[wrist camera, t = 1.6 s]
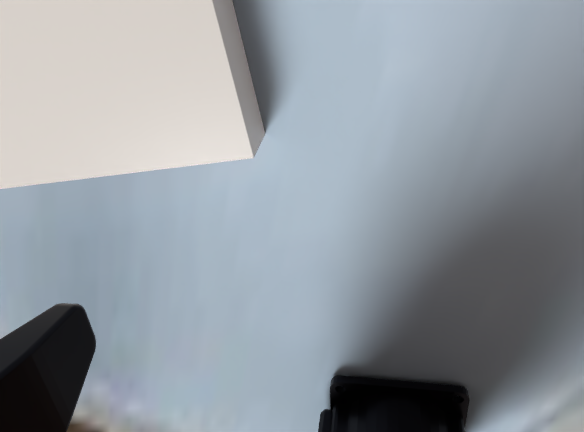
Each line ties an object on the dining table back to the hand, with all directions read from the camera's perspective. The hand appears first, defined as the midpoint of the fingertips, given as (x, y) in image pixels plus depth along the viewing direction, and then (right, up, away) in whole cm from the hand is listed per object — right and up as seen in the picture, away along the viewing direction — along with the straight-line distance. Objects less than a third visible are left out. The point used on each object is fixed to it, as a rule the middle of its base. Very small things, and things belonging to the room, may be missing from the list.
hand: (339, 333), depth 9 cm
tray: (-10, +7, +12) cm, 18 cm away
